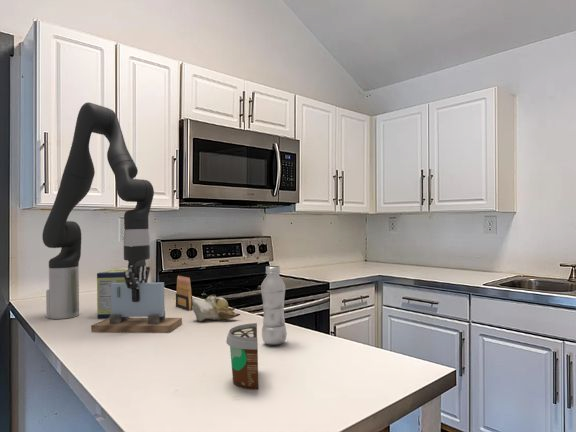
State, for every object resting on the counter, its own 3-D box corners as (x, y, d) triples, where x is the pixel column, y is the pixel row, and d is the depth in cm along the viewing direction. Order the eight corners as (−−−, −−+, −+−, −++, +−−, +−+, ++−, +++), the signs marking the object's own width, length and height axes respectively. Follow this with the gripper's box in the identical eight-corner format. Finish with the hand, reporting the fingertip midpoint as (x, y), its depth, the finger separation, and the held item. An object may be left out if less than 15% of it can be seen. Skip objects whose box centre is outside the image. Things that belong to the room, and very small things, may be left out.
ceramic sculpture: (191, 291, 139) (235, 291, 144) (189, 317, 139) (234, 316, 143) (193, 297, 129) (241, 296, 133) (192, 325, 129) (240, 323, 133)
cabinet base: (91, 332, 123) (91, 316, 123) (109, 323, 133) (109, 309, 133) (169, 332, 120) (169, 317, 121) (181, 324, 130) (181, 309, 130)
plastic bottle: (290, 341, 109) (288, 265, 110) (281, 348, 103) (280, 268, 103) (267, 339, 112) (266, 264, 112) (257, 346, 105) (256, 267, 105)
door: (110, 317, 126) (109, 284, 126) (114, 315, 129) (114, 282, 129) (161, 317, 124) (160, 283, 125) (164, 315, 127) (164, 282, 127)
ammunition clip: (192, 310, 152) (192, 277, 152) (188, 311, 150) (187, 277, 151) (180, 306, 160) (179, 274, 160) (175, 306, 159) (175, 275, 159)
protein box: (142, 308, 156) (142, 267, 156) (127, 318, 141) (127, 272, 141) (114, 309, 156) (113, 267, 156) (96, 319, 140) (96, 272, 140)
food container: (228, 370, 89) (227, 323, 89) (257, 369, 89) (256, 322, 89) (224, 394, 76) (223, 339, 76) (258, 392, 77) (257, 338, 77)
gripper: (135, 243, 134) (136, 297, 134) (113, 245, 121) (114, 305, 120) (157, 242, 134) (158, 296, 133) (138, 245, 120) (139, 305, 120)
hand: (137, 300), depth 127 cm, fingers closed on door, 2 cm apart
